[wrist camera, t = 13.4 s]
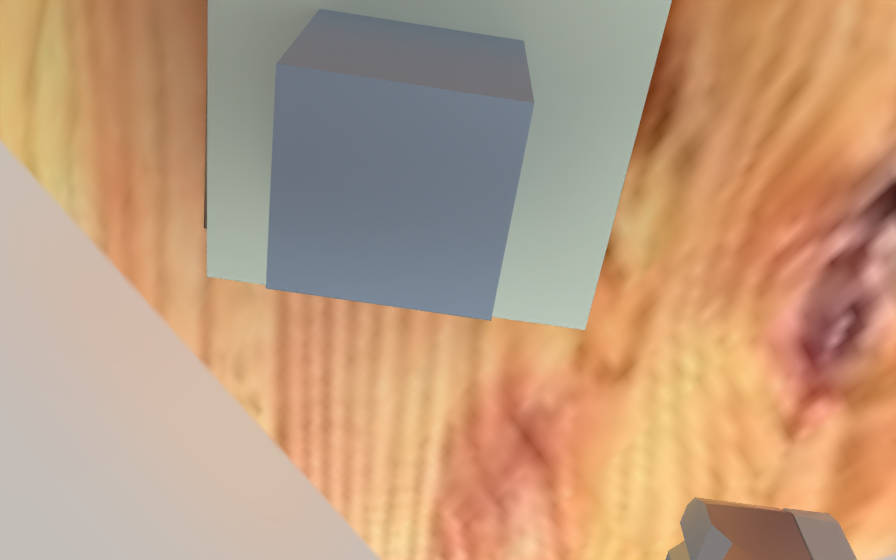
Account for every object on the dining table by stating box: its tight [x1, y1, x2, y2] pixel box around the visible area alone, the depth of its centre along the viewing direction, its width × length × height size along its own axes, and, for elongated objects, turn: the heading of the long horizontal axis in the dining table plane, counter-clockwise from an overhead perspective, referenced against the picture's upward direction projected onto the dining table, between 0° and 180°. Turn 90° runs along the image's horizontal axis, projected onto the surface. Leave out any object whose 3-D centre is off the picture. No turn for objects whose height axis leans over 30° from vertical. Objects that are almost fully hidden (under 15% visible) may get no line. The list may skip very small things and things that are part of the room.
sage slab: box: [207, 0, 672, 330], centre depth 24 cm, size 11×11×4 cm
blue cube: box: [266, 9, 534, 321], centre depth 20 cm, size 5×5×5 cm
